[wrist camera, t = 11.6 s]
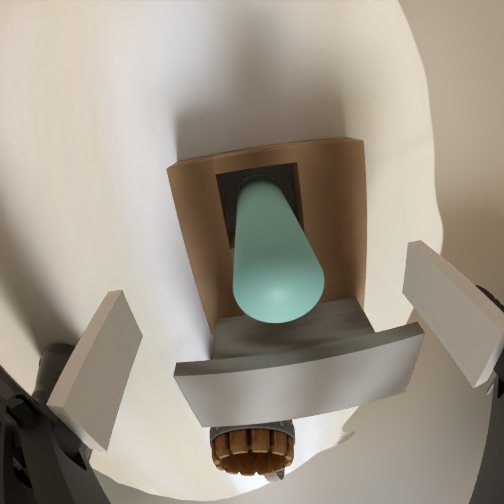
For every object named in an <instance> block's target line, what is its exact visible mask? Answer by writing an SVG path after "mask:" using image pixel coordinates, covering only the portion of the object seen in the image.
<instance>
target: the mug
mask: <svg viewBox="0 0 504 504" xmlns="http://www.w3.org/2000/svg"><path fill="white" fill-rule="evenodd" d="M211 360H213V357H212V359H211ZM294 444H295V430H294V426H293V424H292V419H290V420H284V421H276V422H268V423H260V424H250V425H238V426H223V427H211V428H210V446H211V449H212V459H213V462H214V464H215V465H216V467H217V468H218V469H219V470H226V472H227V473H230V474H238V472H240V473H241V475H244V476H253V475H254V474H255V472H257V473H258V474H259V475H264V476H265V478H266V479H267V480H268V481H269V482H272V481H278V480H282V479H283V478H284V468H285V467H287V466H290V465H291V464H292V461H293V458H294Z"/></svg>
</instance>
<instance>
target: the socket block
mask: <svg viewBox="0 0 504 504" xmlns="http://www.w3.org/2000/svg"><path fill="white" fill-rule="evenodd" d="M286 163H290V164H291V172H292V180H293V189H294V197H295V206H296V215H297V221H298V223H299V225H300V227H301V228H302V230H303V232H304V234H305V236H306V238H307V240H308V242H309V244H310V246H311V248H312V250H313V252H314V254H315V256H316V258H317V260H318V262H319V264H320V266H321V268H322V270H323V274H324V288H323V292H322V295H321V297H320V299H319V300H318V302H317V303H316V305H315V306H314V307H313V308H312V309H311V310H310V311H309V312H307V313H306V314H304V315H303V316H301V317H299V318H297V319H295V320H292V321H288V322H283V323H268V322H263V321H259V320H257V319H254V318H252V317H251V316H249V315H247V314H246V313H245V312H244V311H243V310H242V309H241V308H240V307H239V305H238V304H237V302H236V300H235V297H234V293H233V274H234V253H235V234H236V231H233V232H232V231H231V226H230V221H229V216H228V211H227V206H226V201H225V195H224V190H223V185H222V180H221V173H227V172H233V171H239V170H245V169H251V168H257V167H264V166H271V165H278V164H286ZM167 173H168V178H169V182H170V187H171V191H172V195H173V199H174V203H175V207H176V211H177V215H178V219H179V223H180V227H181V231H182V235H183V239H184V243H185V246H186V250H187V254H188V257H189V261H190V264H191V268H192V271H193V275H194V278H195V282H196V285H197V289H198V292H199V295H200V299H201V302H202V305H203V309H204V312H205V315H206V318H207V321H208V325H209V328H210V331H211V334H212V335H214V334H215V342H214V352H213V360H207V361H195V362H180V363H176V367H175V371H174V376H173V377H174V379H175V380H176V382H177V384H178V386H179V388H180V390H181V392H182V393H183V395H184V397H185V399H186V400H187V402H188V404H189V406H190V407H191V409H192V411H193V413H194V414H195V416H196V418H197V419H198V421H199V423H200V424H201V426H202V427H223V426H238V425H250V424H260V423H268V422H276V421H284V420H290V419H297V418H303V417H308V416H314V415H319V414H324V413H329V412H334V411H338V410H343V409H347V408H351V407H355V406H359V405H362V404H366V403H370V402H373V401H377V400H381V399H384V398H387V397H390V396H394V395H397V394H400V393H403V392H406V389H407V386H408V384H409V381H410V378H411V375H412V373H413V369H414V367H415V364H416V361H417V358H418V355H419V351H420V348H421V345H422V341H423V338H424V335H425V332H424V331H423V329H422V328H421V326H420V325H419V324H418V322H414V323H411V324H408V325H404V326H400V327H396V328H393V329H389V330H385V331H381V332H377V333H375V331H374V329H373V327H372V325H371V324H370V322H369V320H368V318H367V316H366V314H365V313H364V311H363V309H364V296H365V279H366V255H367V197H366V172H365V156H364V143H363V141H362V140H357V139H352V138H347V137H346V138H332V139H320V140H310V141H300V142H291V143H283V144H275V145H268V146H261V147H254V148H248V149H241V150H235V151H229V152H224V153H218V154H213V155H208V156H203V157H198V158H193V159H188V160H184V161H179V162H176V163H175V164H173V165H172V166H170V167H169V168H167Z"/></svg>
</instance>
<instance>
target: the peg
mask: <svg viewBox="0 0 504 504" xmlns="http://www.w3.org/2000/svg"><path fill="white" fill-rule="evenodd" d="M323 288H324V274H323V270H322V268H321V266H320V264H319V262H318V260H317V258H316V256H315V254H314V252H313V250H312V248H311V246H310V244H309V242H308V240H307V238H306V236H305V234H304V232H303V230H302V228H301V227H300V225H299V223H298V221H297V219H296V217H295V215H294V213H293V211H292V209H291V208H290V206H289V204H288V202H287V200H286V198H285V197H284V195H283V193H282V191H281V189H280V187H279V186H278V184H277V182H276V181H275V180H274V179H273V178H272V177H270V176H268V175H265V174H254V175H251V176H249V177H247V178H246V179H244V180H243V182H242V183H241V184H240V186H239V189H238V199H237V216H236V234H235V253H234V274H233V293H234V297H235V300H236V302H237V304H238V305H239V307H240V308H241V309H242V310H243V311H244V312H245V313H246V314H247V315H249V316H251V317H252V318H254V319H257V320H259V321H263V322H268V323H283V322H288V321H292V320H295V319H297V318H299V317H301V316H303V315H304V314H306V313H307V312H309V311H310V310H311V309H312V308H313V307H314V306H315V305H316V303H317V302H318V300H319V299H320V297H321V295H322V292H323Z"/></svg>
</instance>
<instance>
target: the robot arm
mask: <svg viewBox="0 0 504 504" xmlns="http://www.w3.org/2000/svg"><path fill="white" fill-rule="evenodd" d="M402 293H403V294H404V295H405V297H406V298H407V299H408V300H409V301H410V303H411V304H412V305H413V306H414V308H415V309H416V310H417V311H418V313H419V314H420V315H421V316H422V318H423V319H424V320H425V321H426V323H427V324H428V325H429V327H430V328H431V329H432V331H433V332H434V333H435V334H436V336H437V337H438V338H439V340H440V341H441V342H442V344H443V345H444V347H445V348H446V349H447V351H448V352H449V353H450V355H451V356H452V358H453V359H454V360H455V361H456V363H457V365H458V366H459V368H460V369H461V370H462V372H463V373H464V375H465V376H466V378H467V379H468V381H469V382H470V384H471V385H472V387H473V388H475V387H476V386H478V385H480V384H482V383H484V382H485V381H487V380H488V378H489V376H490V375H491V373H492V371H493V370H494V371H495V372H496V374H497V375H496V377H495V379H494V381H493V382H492V384H491V386H490V387H489V389H488V391H487V394H489V393H490V392H491V390H492V388H493V394H492V395H493V400H492V408H491V416H490V423H489V429H488V435H487V440H486V445H485V450H484V454H483V458H482V463H481V466H480V470H479V474H478V477H477V481H476V484H475V487H474V491H473V494H472V497H471V499H470V503H469V504H504V306H503V305H502V304H500V302H499V301H498V300H497V299H495V298H494V296H493V295H492V294H491V293H489V292H488V291H487V290H485V289H484V288H482V287H480V286H478V285H474V284H473V283H471V282H470V281H469V280H468V279H467V278H466V277H465V276H464V275H462V274H461V273H460V272H459V271H458V270H457V269H455V268H454V267H453V266H452V265H451V264H450V263H448V262H447V261H446V260H445V259H444V258H442V257H441V256H440V255H439V254H437V253H436V252H435V251H434V250H432V249H431V248H430V247H429V246H427V245H426V244H425V243H424V242H422V241H421V240H420V241H415V242H410V243H408V248H407V259H406V268H405V277H404V285H403V292H402ZM142 337H143V336H142V333H141V331H140V329H139V327H138V325H137V323H136V321H135V318H134V316H133V314H132V312H131V309H130V307H129V305H128V303H127V300H126V298H125V296H124V293H123V291H122V290H118V291H111V292H108V293H107V295H106V297H105V298H104V300H103V301H102V303H101V305H100V306H99V308H98V309H97V311H96V313H95V314H94V316H93V318H92V319H91V321H90V323H89V324H88V326H87V328H86V330H85V331H84V333H83V335H82V336H81V338H80V340H79V342H78V344H77V345H76V347H73V346H70V345H66V344H52V345H50V346H48V347H47V348H46V350H45V351H44V353H43V354H42V356H41V358H40V361H39V370H38V374H37V379H36V385H35V390H34V392H33V394H32V396H30V395H29V394H28V393H27V392H26V391H25V390H24V389H23V388H22V387H21V386H20V385H19V384H18V383H17V382H16V381H15V380H14V379H13V378H12V377H11V376H10V375H9V374H8V373H7V372H6V370H5V369H4V368H3V367H2V366H1V365H0V504H111V503H110V502H109V500H108V498H107V496H106V495H105V493H104V491H103V489H102V488H101V486H100V484H99V482H98V480H97V478H96V477H95V474H94V472H93V470H92V468H91V466H90V464H89V460H90V457H91V453H92V450H93V449H94V450H100V451H106V452H107V449H108V445H109V441H110V438H111V434H112V430H113V427H114V423H115V420H116V416H117V413H118V409H119V406H120V403H121V399H122V396H123V393H124V390H125V387H126V384H127V380H128V377H129V374H130V371H131V368H132V365H133V362H134V359H135V356H136V354H137V351H138V348H139V345H140V342H141V339H142Z"/></svg>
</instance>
